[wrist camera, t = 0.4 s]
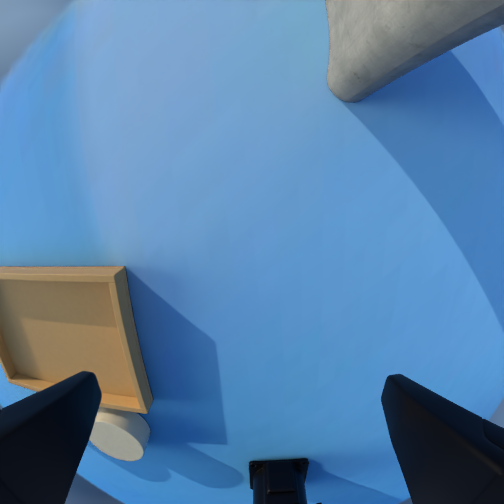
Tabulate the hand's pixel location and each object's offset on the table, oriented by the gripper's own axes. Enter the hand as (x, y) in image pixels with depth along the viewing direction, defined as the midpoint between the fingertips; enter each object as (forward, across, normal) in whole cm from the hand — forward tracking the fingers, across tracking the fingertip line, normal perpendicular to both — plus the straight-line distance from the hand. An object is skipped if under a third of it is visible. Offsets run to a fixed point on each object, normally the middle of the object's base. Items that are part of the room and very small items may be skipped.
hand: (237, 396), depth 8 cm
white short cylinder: (+14, +14, +18) cm, 27 cm away
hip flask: (+14, -7, -19) cm, 25 cm away
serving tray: (+14, +18, +7) cm, 24 cm away
